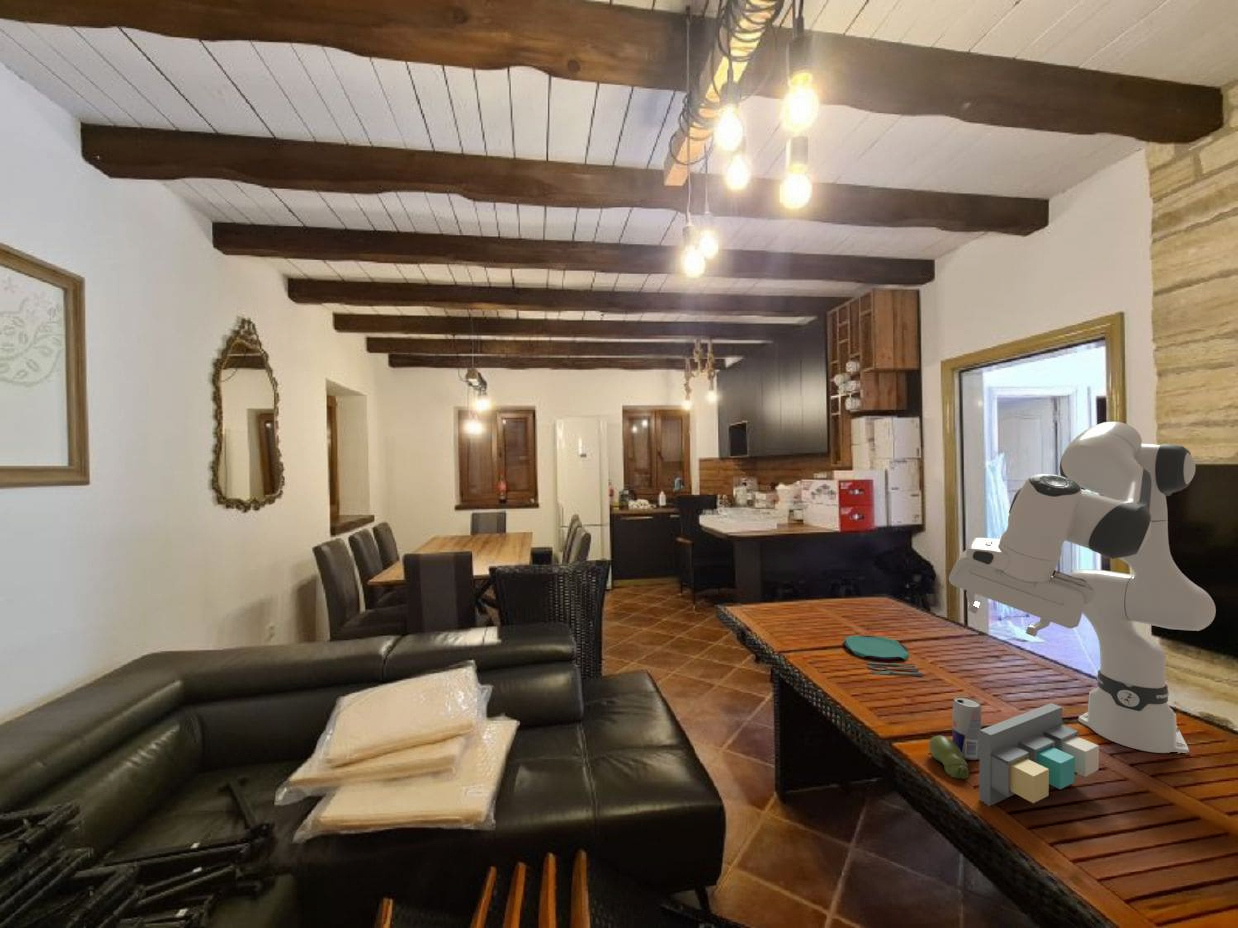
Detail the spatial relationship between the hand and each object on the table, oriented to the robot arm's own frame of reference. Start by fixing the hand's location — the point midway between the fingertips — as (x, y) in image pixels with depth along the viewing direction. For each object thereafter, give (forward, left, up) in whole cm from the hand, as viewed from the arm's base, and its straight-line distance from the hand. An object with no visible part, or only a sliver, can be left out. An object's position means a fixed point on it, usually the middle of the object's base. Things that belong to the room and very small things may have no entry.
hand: (1000, 621), depth 99 cm
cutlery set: (-56, -47, -36) cm, 82 cm away
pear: (-6, -10, -36) cm, 38 cm away
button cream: (-18, +9, -31) cm, 37 cm away
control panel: (-10, +3, -36) cm, 37 cm away
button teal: (-9, +7, -31) cm, 33 cm away
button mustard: (0, +4, -31) cm, 32 cm away
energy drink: (-14, -10, -36) cm, 40 cm away
